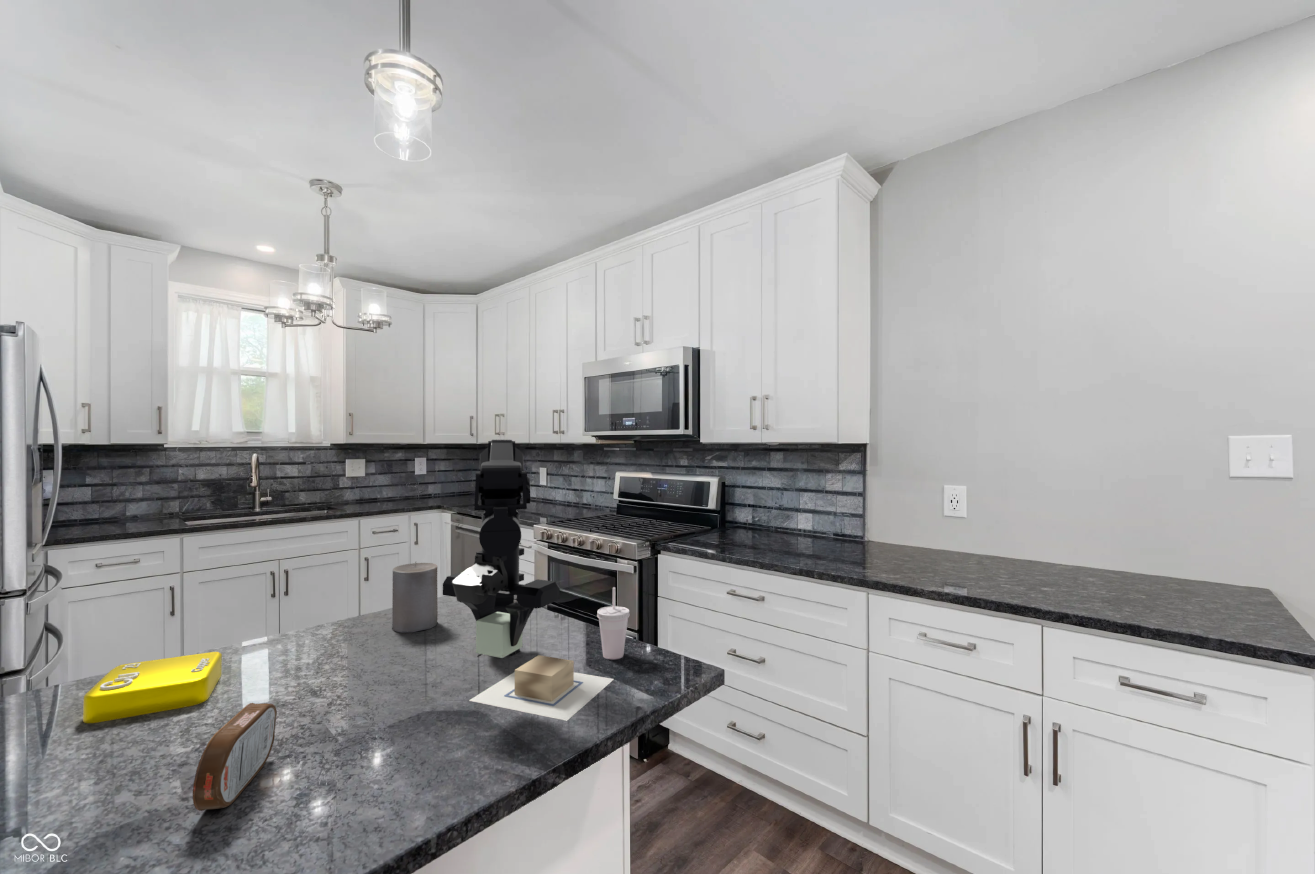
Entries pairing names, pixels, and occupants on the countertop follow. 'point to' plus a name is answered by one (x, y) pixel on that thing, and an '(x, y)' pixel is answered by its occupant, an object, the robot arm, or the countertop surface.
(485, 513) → the robot arm
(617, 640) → the smoothie
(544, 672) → the maple block
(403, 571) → the pillar candle
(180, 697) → the element tile
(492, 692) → the white mat
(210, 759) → the tin
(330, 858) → the countertop surface
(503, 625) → the sage block
